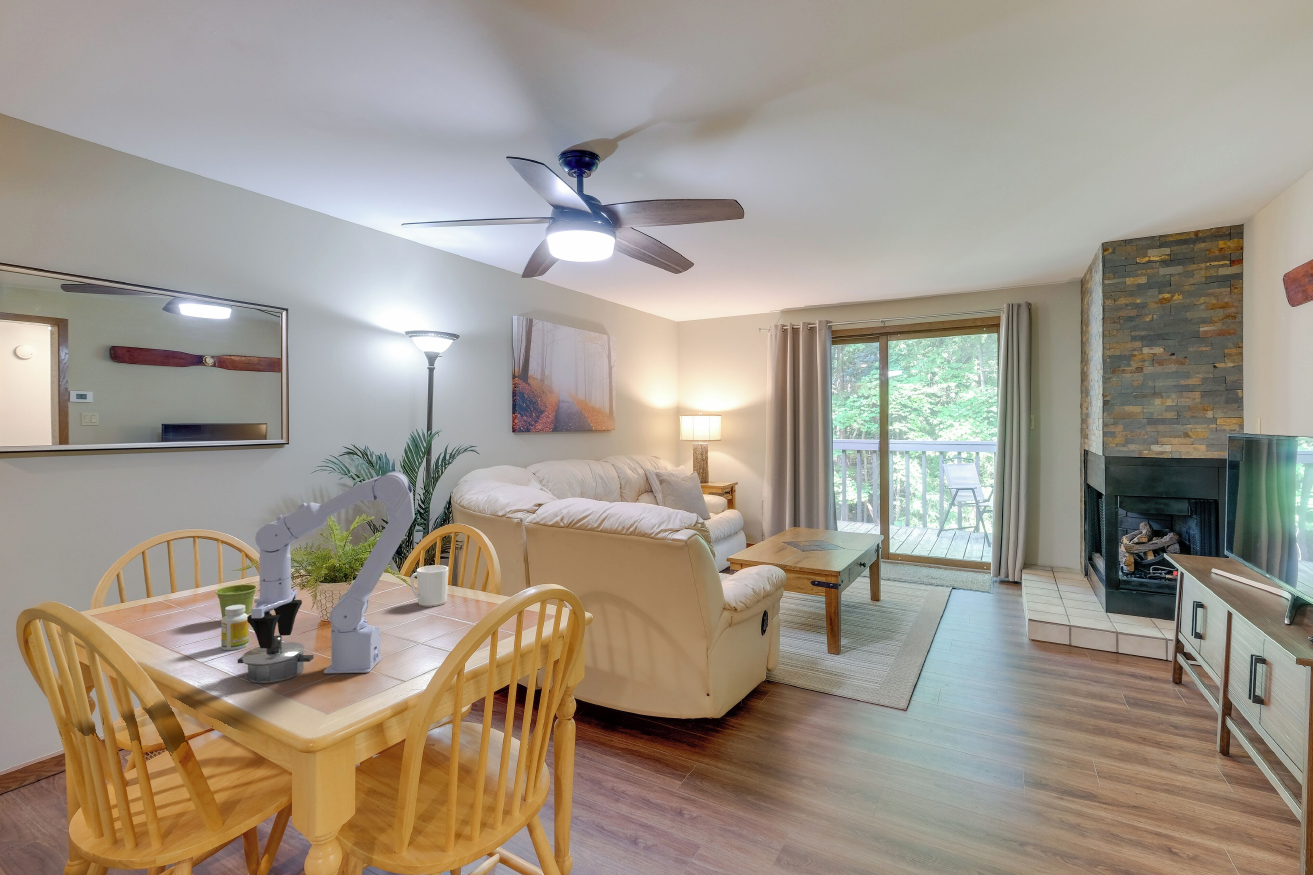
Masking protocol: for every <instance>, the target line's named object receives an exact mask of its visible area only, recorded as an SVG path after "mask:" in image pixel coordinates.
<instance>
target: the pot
mask: <svg viewBox="0 0 1313 875" xmlns="http://www.w3.org/2000/svg"><path fill="white" fill-rule="evenodd" d="M242 657H243V655H242V656H241V657H239V658H238V659H237V664H244V663H243V658H242ZM312 660H314V654H304V653H303V654H302V655H300V656H299V657H297V658H295V659H292V660H289V661H286V662H282V663H278V664H272V665H264V666H252V665H247V680H248V682H249V683H253V684H262V685H265V684H274V683H280V682H284V681H288V680H290V679H293V678H295V677H297V676H298V675H301V673H302V672H303V670H304V663H309V662H311V661H312Z"/></svg>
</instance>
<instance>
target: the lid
mask: <svg viewBox="0 0 1313 875" xmlns="http://www.w3.org/2000/svg"><path fill="white" fill-rule="evenodd" d="M282 637H283V636H280V634H278V635H274V642H273V646H272V648H263V649H261V648H260V646H257V647H254V648H252V649H249V650H248V651H247V652H245V653H244V654H243V655H242V656H243V657H242V656H241V657H242V658H243V663H242V664H244V665H247V666H248V665H252V666H264V665H272V664H278V663H282V662H286V661H289V660H292V659H295V658H297V657H299V656H300V655H302V654H303V655H304V652H305V646H304V644H303V643H299V642H294V641H293V642H292V641H291V642H290V641H287V642H286V641H285V642H284V641H283V642H282V640H283V639H282Z"/></svg>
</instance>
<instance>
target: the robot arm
mask: <svg viewBox="0 0 1313 875" xmlns="http://www.w3.org/2000/svg"><path fill="white" fill-rule="evenodd" d="M377 499H378V501H379V502H380V503H381V504H382V505H383V506H384V507H385V510H386V512H387V515H388V517H389V521H388V523H387V525H386V526H385V528H384V529H383V531H382V533H381V535H380V536H379V538H378V540H377V541H376V543H375V544H374V547H373V548H372V550H371V552H370V553H369V555H368V557H367V559H366V560H365V562H364V563H363V566H362V568H361V569H360V571H359V573H358V574H357V576H356V578H355V579H354V580H353V582H352V585H350V587H349V589H348V591H347V592H345V593H344V594H343V595H341V597H339V599H338V601H337V603H336V605H334V606H333V607H332V609H331V610H330V613H329V623H330V624H331V627H330V628H331V629H330V634H331V635H330V642H331V643H330V651H331V652H330V654H331V655H330V657H331V659H330V660H331V661H330V663H331V664H329V666H328V667H326V668H325V670H323V671H322V672H323V674H353V673H355V674H356V673H357V674H358V673H359V674H360V673H361V674H362V673H364V674H365V673H369V672H370V671H371V670H372V669H374V667H375V666H376V665H377V664H378V663H379V662H380V661H381V660H382V656H381V630H380V627H379V626H377V625H370V624H368V623H369V622H368V621H369V620H367V618H366V617H365V616H364V614H365V613H366V612H367V611H368V608H369V600H370V597H371V595H372V592H373V591H374V589H375V587H376V586H377V584H378V582H380V579H381V577H382V576H383V574H384V573H385V571H386V569H387V567H388V566H389V563H390V561H391V560H392V558H393V557H394V555H395V553H396V552H397V549H398V548H399V546H400V544H401V543H402V541H403V539H404V537H405V536H406V534H407V532H408V530H409V529H410V527H411V525H412V523H414V519H415V503H414V489H413V486H412V484H411V482H410V480H409V478H408V477H407V476H406V474H405V473H403V472H400V471H397V470H396V471H390V472H387V473H385V474H384V475H379V476H375V477H373V478H371V479H367V480H365V481H362V482H360V483H358V484H357V485H355V486H353V487H351V488H349V489H347V490H345V491H343V492H341V493H339V494H338V495H336V496H334V497H332V498H330V499H328V500H326V501H325V502H323V503H316V502H309V503H306V502H303V503H301V504H299V505H298V506H297V507H298V508H297V509H295V510H293V511H291V512H289V513H287V514H285V515H282V514H280V515H279V516H277V517H276V520H273V521H271V522H269V523H265V524H264V526H262V527H260V528H259V529H258V530H257V532H256V533H255V534H256V535H255V537H254V538H255V543H256V545H257V547H258V548H259V562H258V564H259V567H258V568H259V572H258V573H259V597H257V598H255V599H253V603H254V604H255V606H254V607H252V609H251V615H249V616H248V617H247V621H248V623H249V626H251V628H252V630H253V631H254V633H255V637H256V640H257V642H258V647H260V648H261V649H263V648H272V646H273V642H274V636H275V633H276V627H277V629H278V635H279V636H282V637H283V636H291V634H292V631H293V628H294V624H295V621H296V617H297V613H298V612H299V610H300V608H301V606H302V604H303V601H302V599H297V598H298V589H293V588H292V555H291V542H292V541H298V540H299V539H300V538H302V537H305V536H306V535H309V534H310V533H313V532H314V531H316V530H318V529H320V528H322V527H324V526H325V525H326V524H327V521H328V518H329V517H331V516H332V515H334V514H336V513H338V512H340V511H343V510H345V509H347V508H348V507H351V506H353V505H355V504H357V503H360V502H361V501H368V502H375V501H376V500H377ZM272 611H274V614H272V613H271V612H272Z"/></svg>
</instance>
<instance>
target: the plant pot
mask: <svg viewBox="0 0 1313 875" xmlns="http://www.w3.org/2000/svg"><path fill="white" fill-rule="evenodd" d="M257 589H258V586H257V585H255V584H247V583H245V584H235V585H227V586H223V587H220V588H218V589H216V590H215V592H214V593H215V594H216V595H217V598H218V600H219V608H220V612H221V619H222V618H223V617H225V616H226V614H225V608H226V607H229V606H232V605H245V612H244V613H245V614H247V615H248V614H249V613H250V612H251V609H252V608H253V603H254V596H255V594H256V592H257V591H256V590H257Z"/></svg>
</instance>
